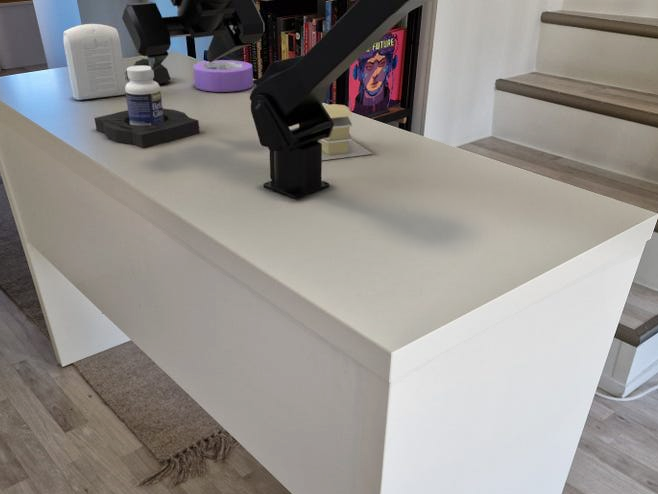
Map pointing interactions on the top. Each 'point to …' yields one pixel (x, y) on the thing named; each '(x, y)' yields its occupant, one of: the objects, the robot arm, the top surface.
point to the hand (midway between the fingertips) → (180, 63)
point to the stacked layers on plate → (340, 135)
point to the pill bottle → (143, 97)
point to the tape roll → (223, 76)
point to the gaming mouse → (155, 71)
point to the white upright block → (94, 61)
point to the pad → (147, 128)
